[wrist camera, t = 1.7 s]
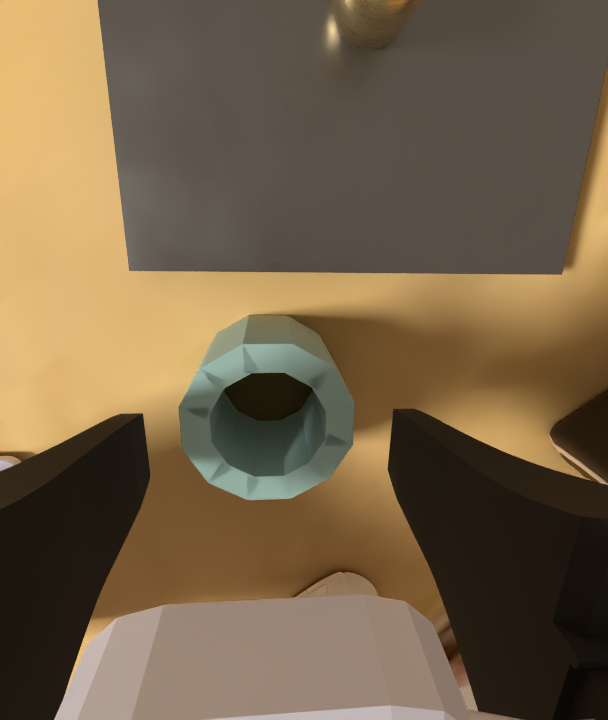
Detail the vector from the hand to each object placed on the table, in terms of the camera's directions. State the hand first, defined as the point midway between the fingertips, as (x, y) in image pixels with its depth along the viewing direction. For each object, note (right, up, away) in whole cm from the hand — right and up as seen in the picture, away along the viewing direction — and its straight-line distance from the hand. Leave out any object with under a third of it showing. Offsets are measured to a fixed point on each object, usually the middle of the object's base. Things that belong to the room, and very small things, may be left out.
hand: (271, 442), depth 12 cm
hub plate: (+3, +13, +1) cm, 13 cm away
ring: (0, +1, +5) cm, 5 cm away
